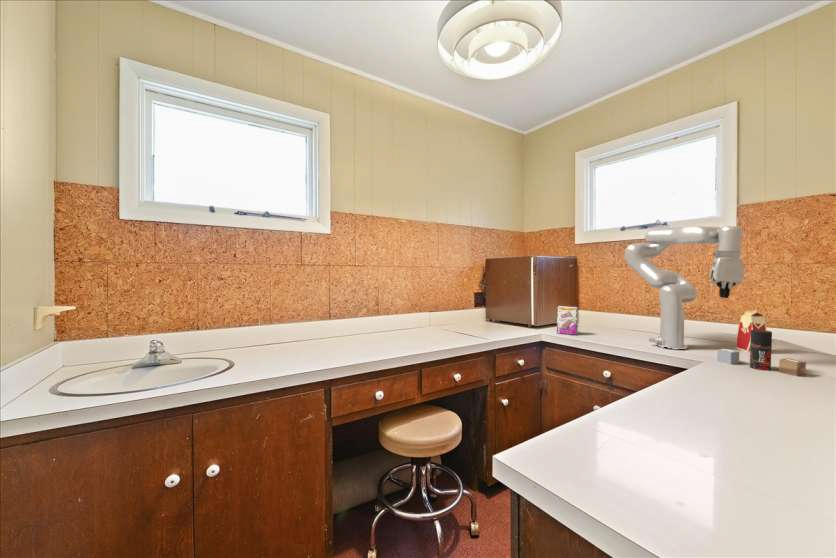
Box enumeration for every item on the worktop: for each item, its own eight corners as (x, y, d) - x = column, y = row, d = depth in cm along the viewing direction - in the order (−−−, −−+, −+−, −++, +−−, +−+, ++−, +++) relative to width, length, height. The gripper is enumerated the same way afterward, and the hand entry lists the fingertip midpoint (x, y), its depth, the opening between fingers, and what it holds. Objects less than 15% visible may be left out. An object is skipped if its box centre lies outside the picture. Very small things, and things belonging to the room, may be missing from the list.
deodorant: (764, 366, 137) (766, 330, 136) (774, 371, 131) (775, 333, 131) (746, 365, 139) (747, 329, 138) (755, 369, 133) (756, 332, 132)
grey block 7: (730, 364, 140) (731, 352, 140) (717, 361, 145) (717, 349, 145) (739, 363, 142) (739, 351, 142) (725, 360, 147) (725, 348, 146)
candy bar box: (556, 333, 204) (556, 306, 203) (558, 332, 208) (558, 305, 208) (576, 335, 198) (577, 308, 197) (577, 334, 202) (578, 307, 202)
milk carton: (771, 353, 156) (772, 310, 155) (747, 352, 158) (748, 310, 157) (755, 348, 165) (757, 308, 164) (733, 348, 166) (734, 307, 166)
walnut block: (796, 376, 125) (796, 362, 125) (779, 372, 130) (779, 359, 130) (805, 375, 127) (805, 361, 126) (787, 371, 131) (788, 358, 131)
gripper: (712, 255, 144) (708, 298, 145) (755, 255, 140) (750, 299, 142) (702, 254, 151) (699, 295, 153) (743, 255, 147) (739, 296, 149)
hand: (723, 297), depth 147 cm, fingers closed
